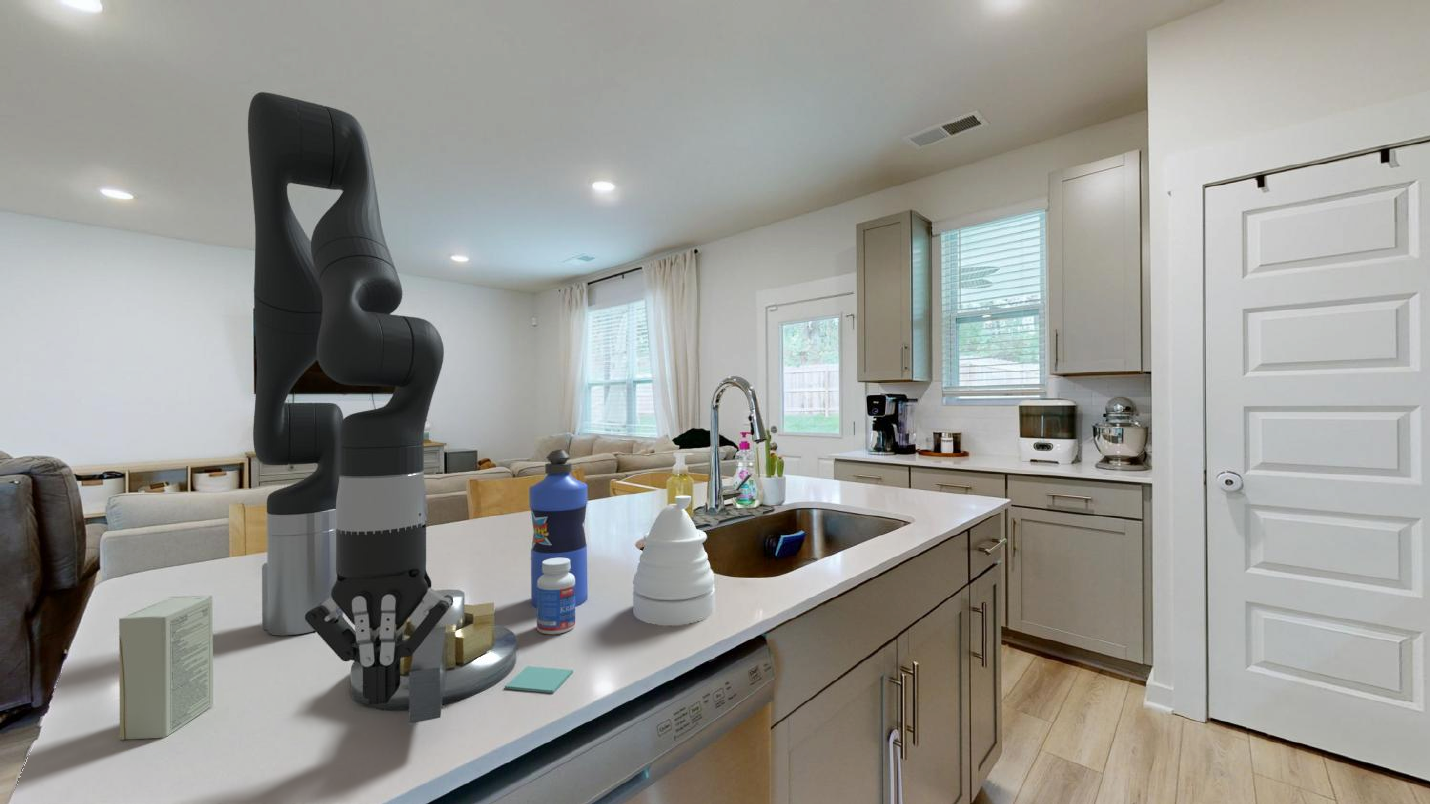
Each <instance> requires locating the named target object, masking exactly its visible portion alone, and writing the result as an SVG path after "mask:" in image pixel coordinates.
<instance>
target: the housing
mask: <svg viewBox="0 0 1430 804" xmlns="http://www.w3.org/2000/svg"><path fill="white" fill-rule="evenodd" d="M435 591H436V592H438V593H439V594H441V595H442V596H446V595H450V596H452V597H453V600H454V602H453V604H452V606H451V607H450V608H449V609H448V611H447V612H446V613H445V614H444V616H443V617H442V618H441V619H440V621H439V622H438V623H437V624H436V626H435V627H440V626H447V625H454V624H456V631H458V630H460V629H462V628H464V627H465V605H466V604H465V602H466V601H465V600H466V599H465V592H464V591H462V590H459V589H439V590H435ZM423 607H424V600H422V601H421V603H420V604H419V605H418V607H417V608H416V609H415V611H414V612H413V614H412V615H411V616H410V636H411V635H412V634H413V633H414V630H416V629H417V628H418V626H419V625H420V624H421V623H422V621H423V620H424V619H425V618H426V616H425V615H423V613H422V609H423ZM494 631H495V646H492V649H491V650H489V651H487V652H486V653H484V654H482V655H480V656H478V657H476V658H474V659H473V660H471V661H469V662H467V663H465V664H460V663H456V664H455V667H453V668H447V672H446V679H445V687H444V694H443V702H442V706H443V705H446V704H447V705H448V704H451V703H454V702H458V701H460V700H463V699H467V698H469V697H472V696H475V695H478V694H479V693H481V692H483V691H486V690H487V689H490V688H491V687H494V686H495V685H497V684H498V683H499V682H500V681H502V680H504V679H505V678H506V677H507V676H508V675H509V674H510V673H511V672H512V670H514V668H515V666H516V664H517V637H516V634H515V633H514V632H513V631H512V630H511V629H509V628H507V627H505V626H503V625H499V624H498V625H497V624H495V623H494ZM350 667H351V668H350V694H351V697H352V699H353V701H355V702H356V703H357V704H359V705H361V706H362V707H365V708H368V709H372V710H378V711H389V712H391V711H392V712H397V711H399V712H400V711H401V712H402V711H409V672H408V673H406V674H400V686H399V688H398V690H397V691H396V693H395V694H394V695H393V696H392V697H391V698H390V700H389V701H388V702H387V703H383V704H372V705H370V704H369V698H367V699H365V698H364V695H363V667H362V665H361V664H360V663H359V662H357V661H353V662H352V664H351V666H350Z"/></svg>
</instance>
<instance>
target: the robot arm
mask: <svg viewBox="0 0 1430 804" xmlns="http://www.w3.org/2000/svg"><path fill="white" fill-rule="evenodd" d="M247 135H248V137H247V138H248V153H249V164H250V165H249V166H250V176H251V187H252V190H251V191H252V201H253V211H254V212H253V213H254V215H253V216H254V227H255V228H254V230H255V233H254V235H255V237H254V238H255V239H254V240H255V241H254V242H255V246H254V278H253V280H254V281H253V310H254V311H253V317H254V332H255V333H254V334H255V347H256V349H255V350H256V352H255V353H256V384H255V385H256V387H255V398H254V399H255V400H254V401H255V402H254V411H253V413H254V414H253V427H252V430H253V431H252V437H253V440H252V441H253V449H254V453H255V456H256V459H258V461H259V462H260V463H261V464H263V465H267V466H289V465H291V466H293V465H307V464H308V465H309V464H316V465H317V467H316V469H315V471H314V472H313V473H311V474H310V475H308V476H306V477H305V478H303V479H302V480H300V481H298V482H296V483H294V484H290V485H288V486H284V487H283V488H282V487H281V488H279V489H277V490H274V491H273V492H270V493H269V494H268V495H267V498H266V537H267V540H266V542H267V543H266V549H267V550H266V556H267V561H266V562H265V563H263V565H262V566H261V621H262V623H261V627H262V630H267V633H268V634H270V635H273V636H293V635H302V634H307V633H311V632H316V634H317V635H318V636H319V637H320V638H321V639H322V641H324V643H325V644H326V645H327V646H328V647H329V648H330V649H331V650H332V651H333V652H334V653H335V655H336V656H338V658H339V659H340V660H341V661H343V662H349V661H353V662H354V661H357V662H359V663H360V664H361V665H362V667H363V695H364V698H365V699H367V698H369V704H370V705H372V704H383V703H387V702H388V701H389V700H390V698H391V697H392V696H393V695H394V694H395V693H396V691H397V690H398V688H399V686H400V659H401V658H403V657H410V656H411V655H412V654H413V653H414V652H415V651H416V649H417V648H418V647H419V646H420V645H421V643H422V642H423V641H424V640H425V638H426V637H427V636H428V635H429V633H430V632H431V631H432V630H433V628H434V627H435V626H436V624H437V623H438V622H439V621H440V619H441V618H442V617H443V616H444V614H445V613H446V612H447V611H448V609H449V608H450V607H451V606H452V604H453V602H454V600H453V597H452V596H450V595H446V596H442V595H441V594H439V593H438V592H436V591H437V590H435V589H433V588H432V580H431V578H430V577H429V575H428V572H427V516H428V504H427V491H426V490H427V489H426V484H425V475H424V468H425V466H424V464H425V463H424V462H425V461H424V460H425V459H424V458H425V457H424V456H425V455H424V451H425V450H424V449H425V447H424V443H425V442H424V441H425V439H424V438H425V437H424V436H425V435H424V433H425V428H426V423H427V419H428V415H429V411H430V407H431V403H432V399H433V395H434V393H435V391H436V390H435V389H436V388H437V387H436V386H437V383H438V381H439V378H440V375H441V371H442V366H443V364H444V357H445V356H444V355H445V350H444V349H445V348H444V343H443V340H442V337H441V335H440V333H439V331H438V329H437V328H436V327H435V325H433V323H431V322H430V321H428V320H426V319H424V318H421V317H415V316H410V315H409V316H407V315H406V316H405V315H398V314H392V313H394V312H395V311H396V310H397V309H398V308H399V307H400V305H401V303H402V299H403V288H402V284H401V281H400V278H399V275H398V272H397V269H396V266H395V264H394V261H393V258H392V255H391V253H390V250H389V248H388V245H387V241H386V239H385V234H384V232H383V227H382V222H381V215H380V208H379V207H380V206H379V199H378V194H377V193H378V192H377V187H376V180H375V175H374V170H373V163H372V158H371V154H370V149H369V143H368V140H367V137H366V134H365V132H364V130H363V127H362V125H361V123H360V122H359V120H357V118H356V117H355V116H353V115H351V114H350V113H348V112H347V111H343V110H341V109H337V108H335V107H334V108H333V107H330V106H326V105H324V104H323V105H322V104H318V103H314V102H310V101H305V100H303V99H302V100H301V99H297V98H294V97H290V96H286V95H280V94H276V93H272V92H266V91H265V92H264V91H262V92H257V93H255V94H254V96H253V97H252V98H251V100H250V104H249V109H248V113H247ZM290 184H294V185H301V186H307V187H313V188H319V189H327V190H330V191H331V190H332V191H334V190H335V191H336V190H337V191H342V193H341V194H340V195H339V197H338V199H336V201H335V202H334V203H333V204H332V205H331V206H330V208H329V209H328V210H327V211H326V212H325V213H324V214H323V215H322V216H321V218H320V219H319V220H318V222H317V223H316V225H315V227H314V229H313V231H312V235H311V240H310V238H309V237H308V235H307V233H305V231H304V229H303V227H302V225H301V223H300V222H299V220H298V219H297V217H296V215H295V212H294V210H293V208H292V206H291V202H290V200H289V196H288V185H290ZM316 361H317V362H318V365H319V367H320V369H321V370H322V371H323V372H324V374H326V376H327V377H329V378H330V379H331V380H332V381H335V382H336V383H337V384H342V385H346V386H360V387H361V386H364V387H366V386H370V387H395V388H394V391H393V394H392V396H391V397H390V399H389V401H388V402H387V403H386V404H385V405H383V406H381V407H379V408H374V409H369V410H364V411H359V412H355V413H351V414H348V415H347V416H346V417H344V414H343V411H342V409H341V407H340V406H339V405H338V404H337V403H333V402H286V400H287V398H288V396H289V393H290V392H291V390H292V388H293V387H294V385H296V383H297V381H298V380H299V378H301V376H302V375H304V373H305V372H306V371H307V370H308V369H309V368H310V367H311V366H312V365H314V364H315V363H316ZM422 600H424V607H423V609H422V613H423V615H425V616H426V618H425V619H424V620H423V621H422V623H421V624H420V625H419V626H418V628H417V629H416V630H415V631H414V633H413V634H412V635H411V636H410V638H407V639H405V640H404V632H405V629H406V626H407V619H408V618H409V617H410V616H411V615H412V614H413V612H414V611H415V609H416V608H417V607H418V605H419V604H420V603H421V601H422ZM344 615H345V616H346V617H347V619H348V620H349V621H350V623H352V624H353V625H354V628H353V626H351V625H350V624H349V622H348V621H347V620H346V619H345V618H344Z"/></svg>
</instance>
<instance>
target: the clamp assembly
mask: <svg viewBox="0 0 1430 804" xmlns="http://www.w3.org/2000/svg"><path fill="white" fill-rule="evenodd" d="M494 624H495V603H494V602H487V603H479V604H473V605H472V604H465V627H464V628H462V629H460V630H458V631H456V624H454V625H447V626H440V627H434V628H433V630H432V631H431V632H430V633H429V635H428V636H427V637H426V638H425V640H424V641H423V642H422V643H421V645H420V646H419V647H418V648H417V649H416V651H415V652H414V653H413V654H412V655H411V656H410V657H403V658H401V659H400V674H406V673H408V672H409V710H408V713H409V714H408V715H409V717H408V720H409V722H408V723H409V724H416V723H421V722H425V721H426V722H427V721H430V720H435V719H436V720H437V719H440V718H441V716H442V710H443V709H442V708H443V705H442V702H443V694H444V687H445V679H446V672H447V668H453V667H455V664H456V663H460V664H465V663H467V662H469V661H471V660H473V659H474V658H476V657H478V656H480V655H482V654H484V653H486V652H487V651H489V650H491V649H492V646H495V631H494ZM414 631H415V630H414ZM407 638H410V617H409V618H408V619H407V626H406V629H405V632H404V640H405V639H407Z"/></svg>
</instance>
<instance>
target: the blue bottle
mask: <svg viewBox="0 0 1430 804" xmlns="http://www.w3.org/2000/svg"><path fill="white" fill-rule="evenodd" d="M545 458H546V459H547V460H548V461H549V462H548V463H547V462H546V463H545V464H544V465H545V466H544V467H545V468H544V470H545V471H544V472H545V474H546V476H545V477H544V478H543V479H542V480H540V481H539V482H536V483H535V484H533V485H531V486H530V487H529V491H528V492H529V493H528V495H529V496H528V498H529V500H528V501H529V508H530V513H531V521H532V530H533V534H532V542H531V549H530V584H531V585H530V589H531V590H530V595H531V597H530V600H531V601H530V603H531V606H532V607H533V608H535V609H537V581H538V579H539V578H540V577H541V576H542V575H544V573H543V572H542V562H543V561H544V560H547V559H551V558H568V559H570V565H571V568H570V571H569V573H571V574H572V575H573V576H574V577H575V608H576V607H578V605H579V606H580V605H582V603H583V604H584V603H586V602H587V601H586V600H588V599H589V597H588V591H589V590H588V545H587V544H588V543H587V540H586V532H585V524H586V514H587V505H588V484H587V483H585V482H582V481H580V480H578V479H576V478H574V477H573V476H572V474H571V473H572V472H573V471H572V462H568V461H569V459H570V458H571V456H570V455H569V454H568V453H567V452H566V451H565V449H553V450H551V452H549V454H548V455H547V456H546V457H545ZM587 598H588V599H587ZM585 601H586V602H585Z"/></svg>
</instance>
